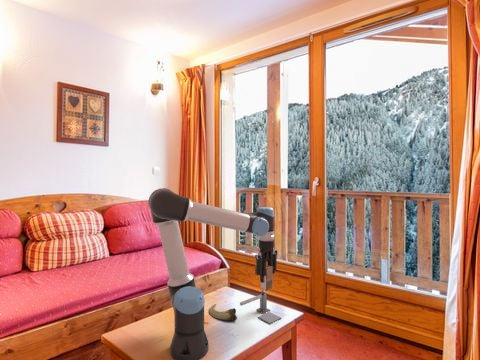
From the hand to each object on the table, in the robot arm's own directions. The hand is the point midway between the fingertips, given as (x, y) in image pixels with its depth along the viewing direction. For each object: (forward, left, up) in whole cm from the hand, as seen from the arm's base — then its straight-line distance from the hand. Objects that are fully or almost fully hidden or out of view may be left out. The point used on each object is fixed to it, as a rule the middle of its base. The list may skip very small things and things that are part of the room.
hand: (266, 287), depth 143 cm
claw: (-13, +18, -16) cm, 28 cm away
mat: (+1, -1, -15) cm, 15 cm away
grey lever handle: (-3, +7, -15) cm, 17 cm away
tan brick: (0, +2, -1) cm, 2 cm away
